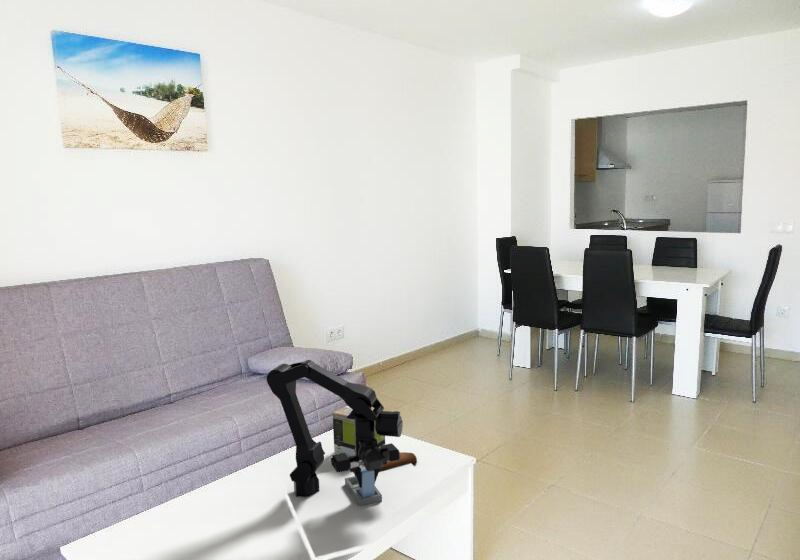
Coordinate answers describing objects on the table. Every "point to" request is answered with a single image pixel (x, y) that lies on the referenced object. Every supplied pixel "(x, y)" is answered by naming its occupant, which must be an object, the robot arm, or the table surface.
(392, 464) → the sunglasses case
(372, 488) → the plug
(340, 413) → the tea box
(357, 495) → the panel
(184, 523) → the table surface
